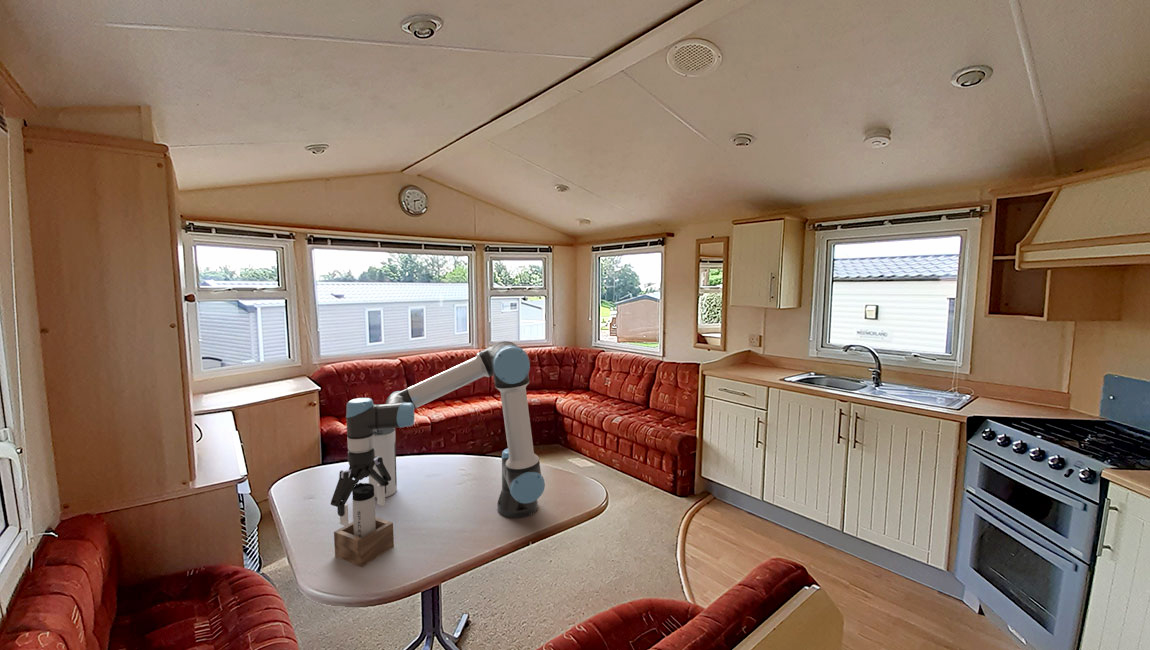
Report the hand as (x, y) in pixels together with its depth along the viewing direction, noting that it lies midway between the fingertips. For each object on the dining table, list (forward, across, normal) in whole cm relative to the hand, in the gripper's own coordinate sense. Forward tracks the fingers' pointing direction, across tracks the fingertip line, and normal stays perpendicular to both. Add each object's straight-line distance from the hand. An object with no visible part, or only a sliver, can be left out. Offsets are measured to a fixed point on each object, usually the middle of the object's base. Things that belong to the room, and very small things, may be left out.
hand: (363, 514), depth 142 cm
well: (+12, 0, 0) cm, 12 cm away
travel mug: (+11, 0, 0) cm, 11 cm away
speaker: (+12, -31, -27) cm, 43 cm away
